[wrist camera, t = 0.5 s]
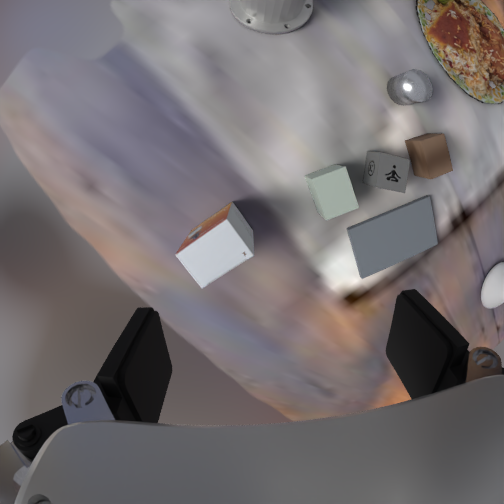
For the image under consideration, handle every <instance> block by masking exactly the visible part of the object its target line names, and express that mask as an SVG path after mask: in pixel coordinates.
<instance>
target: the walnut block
mask: <svg viewBox="0 0 504 504" xmlns="http://www.w3.org/2000/svg"><path fill="white" fill-rule="evenodd" d="M405 143H406V146H407V149H408V153H409V156H410V160H411V164H412V167H413V171H414V175H415V176H419V177H423V178H427V179H433V178H435V177H438V176H440V175H443V174H446V173H448V172H451V171H453V169H452V164H451V160H450V155H449V151H448V147H447V143H446V140H445V136H444V134H424V135H421V136H418V137H415V138H411V139H408V140H405Z"/></svg>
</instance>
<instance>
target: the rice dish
mask: <svg viewBox="0 0 504 504" xmlns="http://www.w3.org/2000/svg"><path fill="white" fill-rule="evenodd" d="M427 1H430V0H416V5H417V6H416V10H417V15H418V18H419V23H420V25H421V30H422V31H423V34H424V36H425V38H426V40H427V42H428V45H429V47H430V49H431V50H432V52H433V54H434V56H435V57H436V59H437V60H438V62H439V63H440V65H441V66H442V67H443V69H445V71H446V73H447V74H448V76H449V77H450V78H451V79H452V80H453V81H454V82H455V83H456V84H457V85H458V86H460V88H461V89H462V90H463V91H464V92H465V93H466V94H468V95H469V96H470V97H472V98H473V97H474V99H477V100H478V101H481V102H482V103H483V102H484V103H490V104H496V103H498V104H500V103H502V102H503V101H504V29H503V27H502V26H501V24H500V23H499V21H498V19H497V17H496V16H495V14H494V13H492V12H491V11H490V10H489V9H488V8H487V7H486V5H485V4H484V3H483V2H482V1H480V0H433V1H434V3H435V5H434V8H433V11H431V10H430V9H428V8H427V5H426V3H427ZM425 12H427V13H428V14H430V15H431V17H432V18H431V20H427V19H426V18H425ZM426 22H428V23H429V25H427V23H426ZM454 72H455V73H456V74H457V75H459V74H460V75H461V77H462V80H461V79H460V78H459V76H457V75H456V74H455V73H454ZM464 79H465V81H464ZM489 80H490V81H493V82H494V84H495V85H496V87H495V88H493V89H492V88H491V86H490V85H489Z"/></svg>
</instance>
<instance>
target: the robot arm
mask: <svg viewBox="0 0 504 504" xmlns="http://www.w3.org/2000/svg"><path fill="white" fill-rule="evenodd" d="M229 4H230V9H231V12H232V14H233V15H234V17H235V18H236V19H237V20H238V21H239V22H240V23H241V24H243V25H244V26H246V27H247V28H249V29H251V30H254V31H257V32H261V33H266V34H283V33H288V32H291V31H294V30H296V29H298V28H300V27H301V26H303V25H304V24H305V23H306V22H307V21H308V19H309V18H310V16H311V14H312V11H313V0H229ZM306 7H307V8H306ZM248 22H250V23H248ZM285 27H287V28H288V29H287V28H285ZM468 346H469V343H468V342H467V341H466V340H465V339H464V337H463V336H462V335H461V334H460V333H459V332H458V331H457V330H456V329H455V328H454V327H453V326H452V325H451V324H450V323H449V322H448V321H447V320H446V319H445V318H444V317H443V316H442V315H441V314H440V313H439V312H438V311H437V310H436V309H435V308H434V307H433V306H432V305H431V304H430V303H429V302H428V301H427V300H426V299H425V298H424V297H423V296H422V295H421V294H420V293H419V292H418V291H417V290H415V289H412V290H405V291H402V292H401V293H400V295H398V296H397V299H396V304H395V310H394V315H393V320H392V324H391V329H390V334H389V338H388V342H387V346H386V355H387V357H388V359H389V360H390V362H391V364H392V365H393V367H394V369H395V371H396V372H397V374H398V376H399V377H400V379H401V381H402V383H403V384H404V386H405V388H406V390H407V391H408V393H409V395H410V397H411V399H412V400H408V401H405V402H401V403H397V404H393V405H389V406H385V407H380V408H376V409H371V410H367V411H362V412H357V413H351V414H346V415H340V416H334V417H327V418H321V419H313V420H305V421H296V422H286V423H274V424H258V425H233V426H232V425H231V426H208V425H177V424H160V423H158V420H159V416H160V413H161V409H162V405H163V402H164V398H165V395H166V391H167V388H168V384H169V381H170V378H171V374H172V364H171V360H170V357H169V353H168V349H167V345H166V341H165V338H164V334H163V330H162V326H161V322H160V317H159V313H158V312H157V311H154V309H153V308H137V310H136V311H135V313H134V314H133V316H132V317H131V319H130V321H129V322H128V324H127V326H126V327H125V329H124V331H123V332H122V334H121V335H120V337H119V339H118V340H117V342H116V343H115V345H114V347H113V348H112V350H111V352H110V354H109V355H108V357H107V359H106V361H105V362H104V364H103V366H102V367H101V369H100V371H99V373H98V374H97V376H96V378H95V380H94V382H91V381H79V382H75V383H73V384H71V385H70V386H69V387H67V388H66V389H65V391H64V392H63V394H62V397H61V401H62V405H61V406H59V407H57V408H54V409H52V410H50V411H47V412H45V413H42V414H40V415H38V416H35V417H33V418H30V419H28V420H25V421H24V422H22V423H20V424H19V425H18V426H17V427H16V428H15V430H14V433H13V441H12V442H11V443H10V442H9V441H8V440H7V441H5V442H4V443H3V444H1V445H0V504H504V368H502V364H501V363H502V362H501V358H500V357H499V355H498V354H497V353H496V352H495V351H493V350H492V349H489V348H486V347H476V348H474V349H472V350H471V351H470V352H469V351H468V350H467V349H468Z"/></svg>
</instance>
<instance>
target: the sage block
mask: <svg viewBox="0 0 504 504" xmlns="http://www.w3.org/2000/svg"><path fill="white" fill-rule="evenodd" d="M305 178H306V181H307V183H308V186H309V189H310V192H311V194H312V197H313V200H314V202H315V205H316V208H317V211H318V213H319V214H320V215H321V216H322V217H323V218H324V219H325V220H326V221H327V220H329V219H332V218H334V217H337V216H339V215H342V214H344V213H347V212H349V211H352V210H354V209H357V208H359V207H358V203H357V200H356V197H355V194H354V190H353V187H352V184H351V181H350V178H349V175H348V172H347V169H346V167H345V166H340V165H332V166H329V167H327V168H324V169H321V170H319V171H316V172H313V173H311V174H308V175H305Z"/></svg>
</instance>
